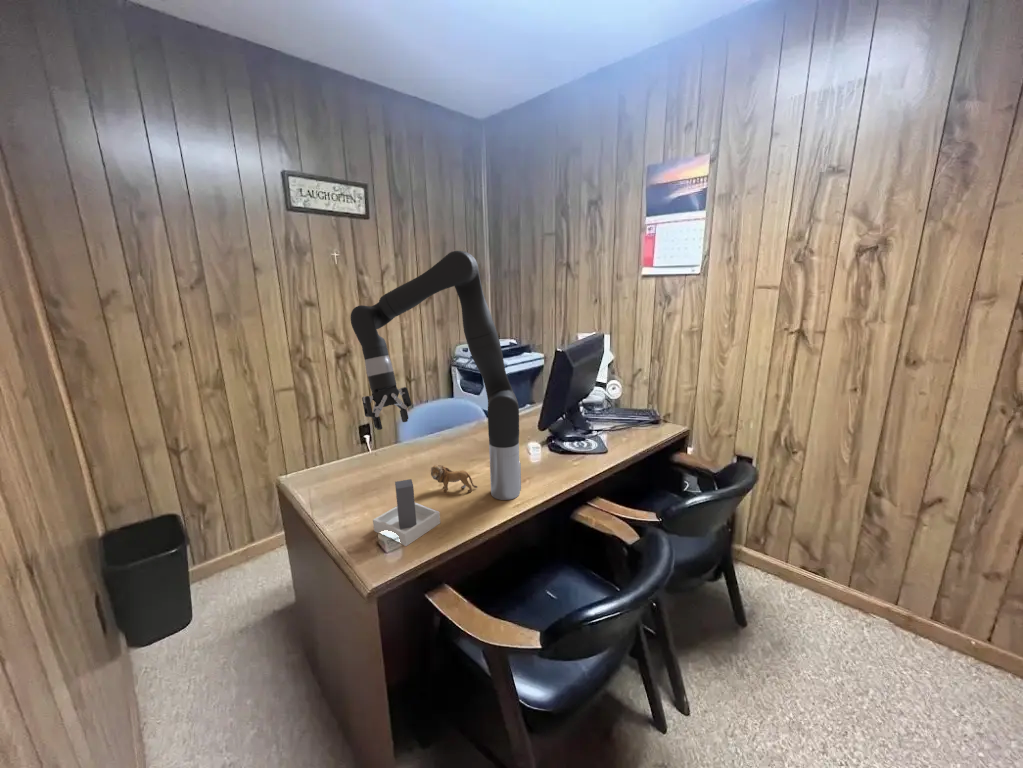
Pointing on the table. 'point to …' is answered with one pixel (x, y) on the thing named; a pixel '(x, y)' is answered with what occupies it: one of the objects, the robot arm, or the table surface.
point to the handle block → (405, 503)
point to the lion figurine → (450, 477)
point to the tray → (424, 523)
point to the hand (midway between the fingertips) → (392, 425)
